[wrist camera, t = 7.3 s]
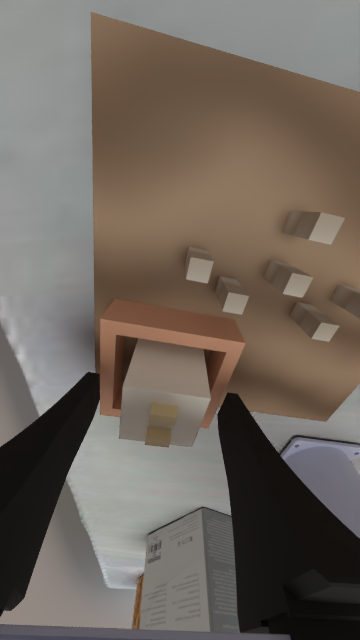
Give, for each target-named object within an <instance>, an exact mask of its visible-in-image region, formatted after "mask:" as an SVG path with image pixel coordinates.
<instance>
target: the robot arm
mask: <svg viewBox="0 0 360 640" xmlns="http://www.w3.org/2000/svg"><path fill="white" fill-rule="evenodd" d="M99 400H100V374H98V373H91V372H88V373H86V374H85V375H84V376H83V377H82V379H81V380H80V381H79V382H78V383H77V384H76V385H75V386H74V387H73V388H72V389H71V390H69V391H68V392H67V393H66V394H65V395H64V396H63V397H62V398H61V399H60V400H59V401H58V402H57V403H56V404H54V405H53V406H52V407H51V408H50V409H49V410H47V411H46V412H45V413H44V414H43V415H42V416H40V417H39V418H38V419H37V420H36V421H35V422H33V423H32V424H31V425H29V426H28V427H27V428H26V429H24V430H23V431H22V432H21V433H19V434H18V435H17V436H15V437H14V438H13V439H11V440H10V441H8V442H7V443H5V444H4V445H3V446H1V447H0V616H1V615H2V613H3V611H4V610H6V611H11V610H12V609H14V608H15V607H16V606H17V605H18V604H19V603H20V602H21V601H22V600H23V599H24V597H25V594H26V590H27V588H28V584H29V582H30V579H31V576H32V573H33V569H34V567H35V564H36V561H37V558H38V554H39V552H40V549H41V546H42V543H43V540H44V537H45V535H46V531H47V529H48V526H49V523H50V520H51V518H52V515H53V512H54V509H55V506H56V504H57V501H58V498H59V495H60V493H61V490H62V487H63V485H64V482H65V480H66V477H67V474H68V472H69V469H70V467H71V465H72V462H73V460H74V458H75V456H76V454H77V452H78V450H79V447H80V445H81V443H82V441H83V439H84V437H85V435H86V433H87V430H88V428H89V426H90V424H91V422H92V420H93V417H94V415H95V412H96V409H97V406H98V403H99ZM218 430H219V437H220V443H221V448H222V454H223V459H224V464H225V469H226V475H227V480H228V487H229V496H230V505H231V515H232V527H233V539H234V554H235V571H236V592H237V615H238V623H239V630H240V633H228V632H200V631H172V630H145V629H117V628H89V627H87V628H86V627H61V626H33V625H5V624H0V640H360V475H359V473H358V472H357V470H356V469H355V467H354V466H353V464H352V463H351V462H352V461H353V460H354V459H355V458H357V457H358V456H359V455H360V445H356V444H348V443H340V442H332V441H325V440H317V439H309V438H301V437H296V438H294V439H293V440H292V441H291V443H290V444H289V445H288V446H287V448H286V449H285V450H284V451H283V452H282V454H281V455H279V453H278V452H277V451H276V449H275V448H274V447H273V445H272V444H271V443H270V441H269V440H268V439H267V437H266V436H265V434H264V433H263V432H262V430H261V429H260V427H259V426H258V424H257V423H256V421H255V420H254V418H253V417H252V415H251V414H250V412H249V411H248V409H247V407H246V406H245V404H244V403H243V401H242V399H241V398H240V396H239V395H238V394H236V393H229V392H227V395H226V397H225V399H224V401H223V404H222V406H221V408H220V410H219V413H218Z"/></svg>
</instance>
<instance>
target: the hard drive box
mask: <svg viewBox="0 0 360 640" xmlns="http://www.w3.org/2000/svg"><path fill="white" fill-rule="evenodd" d="M139 629H145V630H172V631H200V632H228V633H240V630H239V623H238V615H237V592H236V571H235V554H234V539H233V527H232V517H231V516H228V515H224V514H222V513H219V512H216V511H213V510H209V509H207V508H201V509H199V510H197V511H195V512H193V513H191V514H188V515H186V516H185V517H183V518H181V519H179V520H178V521H176V522H173V523H172V524H170V525H167V526H165V527H163V528H161V529H159V530H157V531H156V532H154V533H152V534H150V535H148V537H147V547H146V559H145V570H144V582H143V593H142V604H141V616H140V627H139Z"/></svg>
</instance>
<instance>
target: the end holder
mask: <svg viewBox="0 0 360 640" xmlns="http://www.w3.org/2000/svg"><path fill="white" fill-rule="evenodd" d="M125 336H128V337H134V338H140V339H147V340H153V341H159V342H165V343H171V344H177V345H184V346H190V347H196V348H202V349H208V350H212V351H211V354H210V357H209V360H208V363H207V366H206V369H207V376H208V383H209V389H210V396H211V400H210V402H209V405H208V407H207V410H206V412H205V415H204V417H203V420H202V423H201V425H200V427H202V428H209V426H210V424H211V421H212V419H213V417H214V415H215V412H216V410H217V408H218V405H219V403H220V401H221V399H222V396H223V394H224V392H225V389H226V387H227V385H228V382H229V380H230V378H231V376H232V373H233V371H234V369H235V366H236V364H237V362H238V360H239V357H240V355H241V353H242V350H243V348H244V346H245V344H246V343H245V341H244V339H243V336H242V334H241V332H240V330H239V328H238V326H237V323H236V321H235V320H232V319H226V318H221V317H215V316H210V315H204V314H198V313H193V312H187V311H182V310H176V309H170V308H165V307H159V306H153V305H148V304H142V303H137V302H131V301H125V300H120V299H114V300H113V302H112V303H111V304H110V306H109V307H108V309H107V310H106V311H105V313H104V314H103V316H102V317H101V318H100V415H108V416H115V417H120V416H121V403H122V390H123V384H124V380H122V373H123V360H124V347H125Z"/></svg>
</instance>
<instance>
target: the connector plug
mask: <svg viewBox="0 0 360 640" xmlns="http://www.w3.org/2000/svg"><path fill="white" fill-rule="evenodd" d="M210 400H211V396H210V389H209V383H208V376H207V369H206V363H205V356H204V350H203V349H202V348H196V347H190V346H184V345H177V344H171V343H165V342H159V341H153V340H147V339H140V338H138V341H137V344H136V347H135V350H134V353H133V356H132V359H131V363H130V366H129V369H128V372H127V375H126V378H125V381H124V384H123V390H122V403H121V416H120V430H119V439H128V440H136V441H145V445H152V446H161V447H169V444H171V445H180V446H188V447H192V445H193V443H194V440H195V438H196V435H197V433H198V430H199V428H200V425H201V423H202V420H203V417H204V415H205V412H206V410H207V407H208V405H209V402H210Z"/></svg>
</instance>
